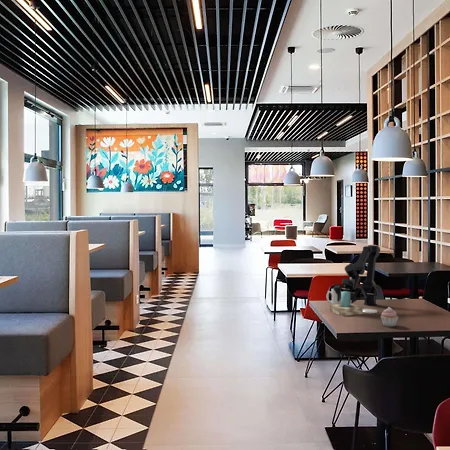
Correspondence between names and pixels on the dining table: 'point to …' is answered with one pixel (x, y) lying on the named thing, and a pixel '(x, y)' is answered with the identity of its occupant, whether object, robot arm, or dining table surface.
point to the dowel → (345, 299)
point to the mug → (333, 297)
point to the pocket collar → (346, 310)
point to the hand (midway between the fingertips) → (344, 302)
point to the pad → (369, 311)
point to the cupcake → (389, 317)
